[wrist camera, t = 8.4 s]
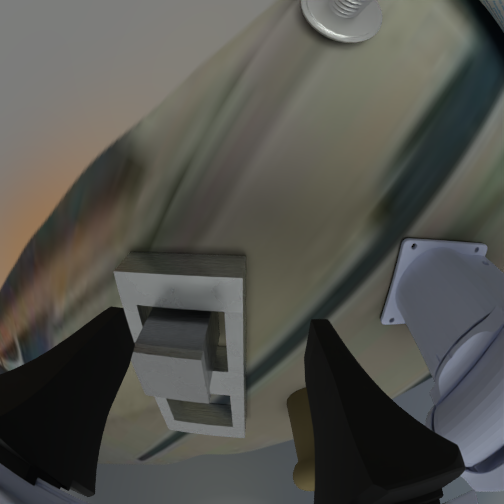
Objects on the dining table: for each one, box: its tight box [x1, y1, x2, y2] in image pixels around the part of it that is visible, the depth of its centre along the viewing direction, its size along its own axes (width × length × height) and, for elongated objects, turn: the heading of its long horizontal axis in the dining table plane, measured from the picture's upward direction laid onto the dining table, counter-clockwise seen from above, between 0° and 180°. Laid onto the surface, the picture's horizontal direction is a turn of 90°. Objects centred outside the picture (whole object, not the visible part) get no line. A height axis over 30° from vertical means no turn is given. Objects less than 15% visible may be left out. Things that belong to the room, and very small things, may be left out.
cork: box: [287, 388, 315, 491], centre depth 23 cm, size 6×6×11 cm
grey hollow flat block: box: [114, 252, 246, 438], centre depth 24 cm, size 9×22×3 cm, turn 179°
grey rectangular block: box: [131, 307, 220, 404], centre depth 20 cm, size 5×5×7 cm
